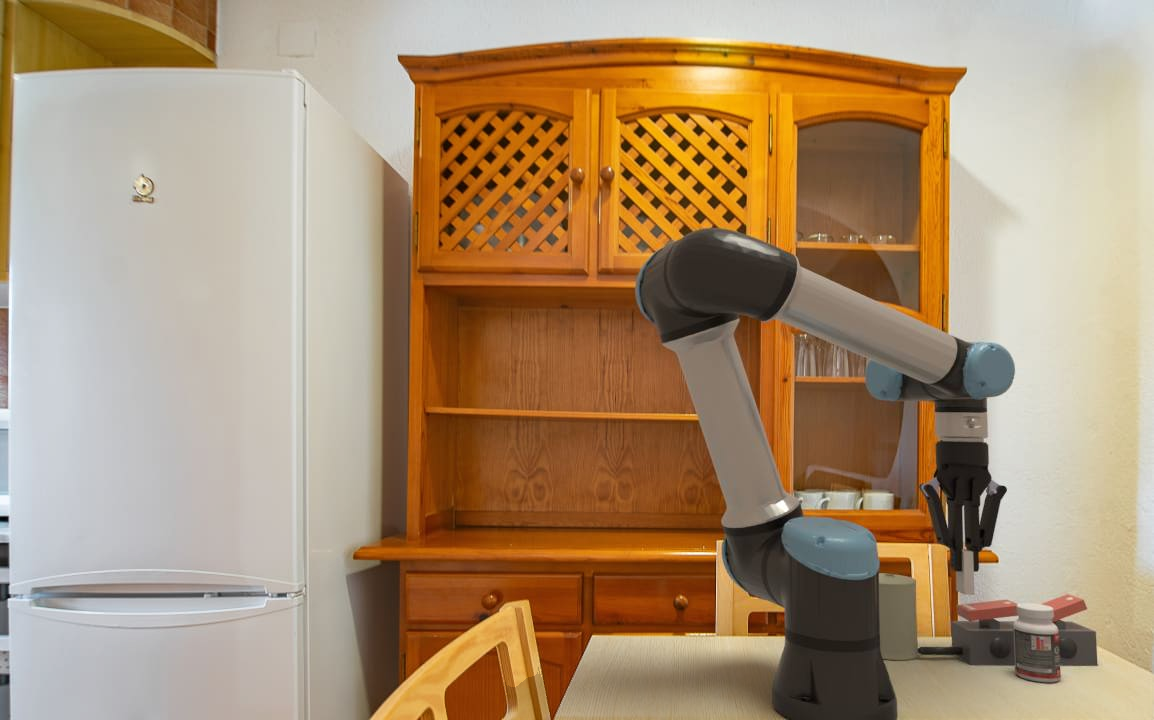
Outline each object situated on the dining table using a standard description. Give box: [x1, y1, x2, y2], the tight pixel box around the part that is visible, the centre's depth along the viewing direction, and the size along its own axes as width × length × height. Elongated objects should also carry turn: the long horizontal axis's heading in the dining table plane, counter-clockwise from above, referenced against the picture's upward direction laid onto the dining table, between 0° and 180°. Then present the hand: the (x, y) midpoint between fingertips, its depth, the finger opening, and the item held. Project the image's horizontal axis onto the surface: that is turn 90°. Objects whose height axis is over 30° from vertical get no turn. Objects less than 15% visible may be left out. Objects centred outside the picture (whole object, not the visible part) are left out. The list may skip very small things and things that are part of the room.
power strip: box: [918, 618, 1098, 666], centre depth 122 cm, size 26×6×6 cm, turn 89°
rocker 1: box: [955, 599, 1019, 621], centre depth 123 cm, size 8×4×2 cm, turn 90°
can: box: [879, 572, 920, 661], centre depth 127 cm, size 9×9×12 cm
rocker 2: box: [1041, 593, 1088, 622], centre depth 123 cm, size 8×4×2 cm, turn 91°
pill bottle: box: [1013, 602, 1062, 684], centre depth 114 cm, size 6×6×10 cm
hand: (965, 592), depth 123 cm, fingers closed
